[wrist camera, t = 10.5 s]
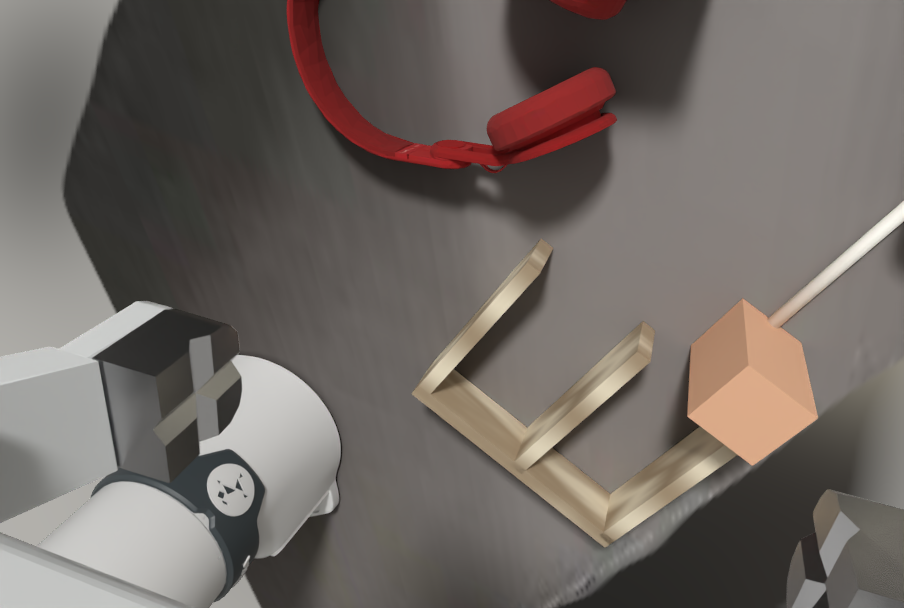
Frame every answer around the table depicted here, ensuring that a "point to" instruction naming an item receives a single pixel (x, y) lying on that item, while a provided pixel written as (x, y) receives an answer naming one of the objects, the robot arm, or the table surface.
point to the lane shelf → (565, 424)
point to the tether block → (763, 366)
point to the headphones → (511, 131)
